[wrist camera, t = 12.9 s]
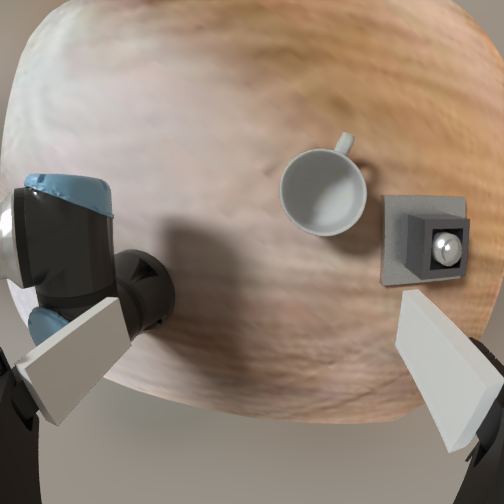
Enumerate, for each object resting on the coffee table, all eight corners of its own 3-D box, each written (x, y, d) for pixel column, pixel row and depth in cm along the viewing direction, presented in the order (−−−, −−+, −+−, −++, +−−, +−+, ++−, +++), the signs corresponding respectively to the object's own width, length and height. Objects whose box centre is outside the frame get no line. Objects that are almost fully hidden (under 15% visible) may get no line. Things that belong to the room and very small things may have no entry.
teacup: (324, 241, 41) (332, 254, 33) (266, 198, 40) (261, 201, 33) (377, 169, 37) (396, 166, 29) (320, 125, 37) (327, 111, 29)
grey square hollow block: (405, 267, 38) (421, 280, 32) (407, 214, 36) (425, 219, 31) (446, 264, 37) (464, 275, 31) (449, 214, 35) (469, 219, 29)
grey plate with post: (379, 282, 41) (399, 306, 32) (381, 195, 38) (405, 198, 29) (456, 275, 39) (484, 294, 29) (460, 196, 35) (493, 201, 26)
